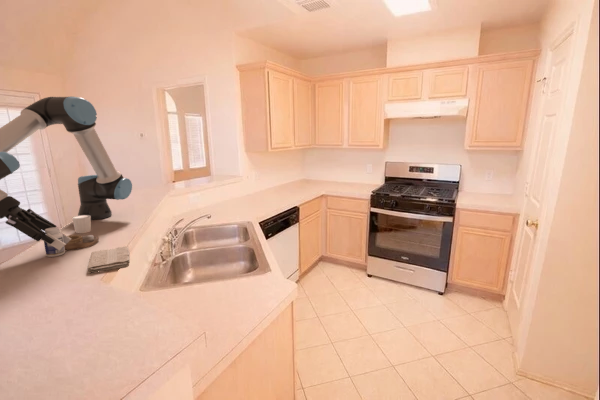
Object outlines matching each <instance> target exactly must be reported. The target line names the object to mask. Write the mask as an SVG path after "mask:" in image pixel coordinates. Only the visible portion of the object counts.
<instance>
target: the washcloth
mask: <svg viewBox="0 0 600 400" xmlns="http://www.w3.org/2000/svg"><path fill="white" fill-rule="evenodd" d="M130 257H131V255H130V250H129V246H125V245H124V246H118V247H115V248H110V249H101V250H95V251H92V252H91V254H90V258H89V262H88V264H87V270H88V272H89V273H90V274H92V273H91V272H98V271H104V272H109V271H115V270H120V269H125V268H128V267H129V266H130V260H131V259H130ZM89 273H88V274H89ZM98 273H99V272H98Z"/></svg>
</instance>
